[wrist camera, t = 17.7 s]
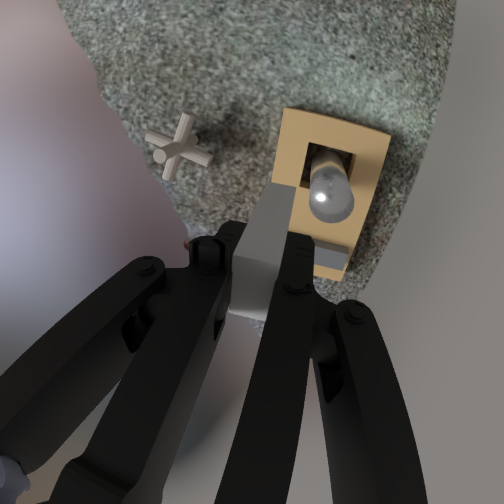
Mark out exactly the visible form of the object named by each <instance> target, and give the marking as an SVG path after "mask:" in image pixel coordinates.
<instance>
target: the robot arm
mask: <svg viewBox="0 0 504 504" xmlns="http://www.w3.org/2000/svg"><path fill="white" fill-rule="evenodd" d="M295 192H296V187H293V186H288V185H283V184H278V183H273V182H267V184H266V186H265V188H264V190H263V192H262V194H261V196H260V199H259V201H258V203H257V205H256V207H255V209H254V211H253V213H252V215H251V217H250V219H249V221H248V223H243V222H238V221H232V220H229V221H227V222H226V223H224V224H222V225H221V227H220V228H219V230H218V232H217V233H216V235H215V236H208V235H207V236H200V237H197V238H195V239H193V240H192V241H190V242H189V260H190V264H189V265H188V267H185V268H165V265H164V263H163V261H162V260H160V259H159V258H157V257H154V256H143V257H139V258H137V259H135V260H133V261H131V262H130V263H129V264H128V265H126V266H125V267H124V268H122V269H121V270H120V271H118V272H117V273H116V274H115V275H113V276H112V277H111V278H110V279H108V280H107V281H106V282H105V283H103V284H102V285H101V286H100V287H98V288H97V289H96V290H95V291H94V292H92V293H91V294H90V295H89V296H87V297H86V298H85V299H84V300H83V301H81V302H80V303H79V304H78V305H77V306H76V307H74V308H73V309H72V310H71V311H70V312H69V313H67V314H66V315H65V316H64V317H63V318H62V319H61V320H60V321H58V322H57V323H56V324H55V325H54V326H53V327H52V328H50V330H48V331H47V332H46V333H45V334H44V335H43V336H42V337H41V338H39V339H38V340H37V341H36V342H35V343H34V344H33V345H32V346H31V347H30V348H29V349H28V350H27V351H26V352H24V353H23V354H22V355H21V356H20V357H19V358H18V359H17V360H16V361H15V362H14V363H13V364H12V365H11V366H10V367H9V368H8V369H7V370H6V371H5V372H4V374H2V375H1V376H0V504H15V501H16V499H17V497H18V496H19V495H21V493H23V491H24V490H25V491H27V490H29V489H30V480H29V479H28V477H27V476H26V475H27V474H29V473H31V472H34V471H35V470H37V469H38V468H39V467H41V466H42V465H43V464H44V463H45V462H47V460H49V458H50V457H52V455H53V454H54V453H55V452H56V451H57V450H58V449H59V448H60V446H61V445H62V444H63V443H64V442H65V441H66V440H67V438H68V437H69V436H70V435H71V434H72V433H73V432H74V431H75V429H76V428H77V427H78V426H79V425H80V424H81V423H82V422H83V421H84V420H85V418H86V417H87V416H88V415H89V414H90V413H91V412H92V411H93V410H94V408H95V407H96V406H97V405H98V404H99V403H100V402H101V401H102V400H103V398H104V397H105V396H106V395H107V394H108V393H109V392H110V391H111V390H112V389H113V387H114V386H115V385H116V384H117V383H118V382H119V381H120V380H121V381H120V383H119V385H118V387H117V389H116V391H115V392H114V394H113V396H112V398H111V400H110V402H109V404H108V406H107V408H106V410H105V412H104V414H103V416H102V418H101V419H100V421H99V423H98V425H97V427H96V429H95V431H94V434H93V436H92V438H91V440H90V442H89V444H88V446H87V448H86V450H85V451H84V453H83V454H82V455H81V456H79V457H77V458H75V459H72V460H70V461H69V462H68V463H67V464H66V465H65V467H64V468H63V470H62V471H61V474H60V476H59V478H58V480H57V482H56V485H55V487H54V489H53V492H52V494H51V496H50V499H49V501H45V502H41V503H38V504H161V502H162V493H163V488H164V485H165V482H166V480H167V477H168V474H169V472H170V469H171V466H172V464H173V461H174V458H175V455H176V453H177V450H178V448H179V445H180V442H181V440H182V437H183V434H184V432H185V429H186V426H187V423H188V421H189V418H190V416H191V413H192V410H193V408H194V405H195V402H196V399H197V397H198V394H199V392H200V389H201V386H202V383H203V381H204V378H205V376H206V373H207V370H208V367H209V364H210V362H211V360H212V357H213V354H214V351H215V349H216V346H217V343H218V341H219V338H220V335H221V333H222V330H223V327H224V325H225V316H226V312H227V309H228V307H229V313H232V314H237V315H241V316H245V317H249V318H253V319H258V320H262V321H265V325H264V329H263V333H262V337H261V341H260V345H259V349H258V353H257V357H256V360H255V364H254V368H253V372H252V376H251V379H250V383H249V387H248V390H247V394H246V398H245V401H244V405H243V408H242V412H241V416H240V419H239V423H238V426H237V430H236V434H235V437H234V440H233V443H232V447H231V450H230V454H229V457H228V460H227V464H226V467H225V470H224V473H223V477H222V480H221V483H220V486H219V489H218V492H217V496H216V499H215V502H214V504H286V500H287V495H288V491H289V486H290V482H291V477H292V472H293V467H294V462H295V457H296V451H297V446H298V440H299V434H300V428H301V422H302V415H303V408H304V401H305V394H306V386H307V377H308V370H309V361H310V358H312V359H313V366H314V372H315V377H316V384H317V390H318V396H319V402H320V408H321V415H322V421H323V428H324V435H325V441H326V449H327V457H328V464H329V473H330V481H331V489H332V498H333V504H428V501H427V495H426V490H425V484H424V478H423V473H422V468H421V464H420V459H419V455H418V451H417V446H416V442H415V438H414V434H413V430H412V427H411V423H410V419H409V416H408V412H407V409H406V406H405V402H404V399H403V395H402V392H401V389H400V386H399V383H398V380H397V377H396V374H395V372H394V368H393V365H392V362H391V359H390V356H389V354H388V351H387V348H386V345H385V343H384V340H383V337H382V335H381V332H380V330H379V327H378V324H377V322H376V319H375V317H374V315H373V313H372V311H371V310H370V308H368V307H367V306H366V305H365V304H363V303H361V302H359V301H357V300H351V299H349V300H343V301H341V302H340V303H338V305H336V304H334V303H332V302H330V301H328V300H326V299H324V298H323V297H321V296H320V295H319V294H318V293H317V291H316V290H315V286H314V285H313V273H314V256H315V242H314V241H313V239H312V237H311V236H310V235H305V234H300V233H296V232H291V231H288V228H289V223H290V218H291V213H292V208H293V203H294V198H295Z"/></svg>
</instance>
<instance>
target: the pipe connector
mask: <svg viewBox="0 0 504 504" xmlns="http://www.w3.org/2000/svg"><path fill="white" fill-rule="evenodd" d="M195 118H196V115H195V114H194V113H191V112H186V111H184V112H183V114H182V116H181V119H180V122H179V125H178V128H177V131H176V134H175V137H174V138H173V137H170V136H168V135H165V134H163V133H161V132H158V131H156V130H153V129H149V130H148V131H147V133H146V135H145V140H146V141H149V142H151V143H153V144H156V145H158V146H161V148H159V149H157V150H155V152H154V154H153V157H154V160H155V161H156V162H157V163H163V162H165V161H167V162H166V166H165V169H164V173H163V176H162V178H163V179H164V180H166V181H174V179H175V175H176V172H177V169H178V166H179V163H180V160H181V157H182V156H183V157H186V158H188V159H190V160H192V161H195V162H197V163H199V164H201V165H203V166H205V167H208V166H209V165H210V163H211V162H212V159H213V155H212V154H210V153H207V152H205V151H203V150H201V149H198V148H196V147H194V145H196V144H197V143H198V137H197V136H196V135H195V134H191V135H189V134H190V131H191V128H192V126H193V123H194V120H195Z"/></svg>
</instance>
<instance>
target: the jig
mask: <svg viewBox="0 0 504 504" xmlns="http://www.w3.org/2000/svg"><path fill="white" fill-rule="evenodd" d="M390 139H391V136H390V135H388V134H387V133H385V132H382V131H379V130H376V129H373V128H370V127H367V126H363V125H360V124H357V123H353V122H350V121H346V120H343V119H339V118H335V117H331V116H328V115H323V114H319V113H315V112H311V111H306V110H301V109H297V108H292V107H285V108H284V113H283V118H282V124H281V130H280V136H279V141H278V147H277V153H276V158H275V164H274V169H273V175H272V181H271V182H273V183H278V184H283V185H288V186H293V187H296V192H295V198H294V203H293V208H292V213H291V218H290V223H289V228H288V231H291V232H296V233H300V234H305V235H310V236H311V237H312V239H313V241H314V242H315V256H314V273H313V275H314V276H319V277H323V278H327V279H331V280H336V281H340V282H341V279H342V277H343V275H344V272H345V270H346V268H347V265H348V263H349V260H350V258H351V255H352V253H353V250H354V248H355V245H356V243H357V240H358V237H359V235H360V232H361V229H362V227H363V224H364V221H365V218H366V216H367V213H368V210H369V207H370V204H371V201H372V198H373V195H374V192H375V189H376V186H377V183H378V180H379V177H380V173H381V170H382V167H383V163H384V160H385V157H386V153H387V150H388V146H389V142H390ZM309 142H312V143H316V144H320V145H324V146H328V147H332V148H336V149H339V150H343V151H346V152H350V153H353V155H352V159H351V163H350V166H349V170H348V174H347V178H348V181H349V184H350V187H351V190H352V193H353V196H354V209H353V211H352V213H351V214H350V216H349V217H348V218H346V219H345V220H343V221H341V222H338V223H325V222H322V221H320V220H319V219H317V218H316V217H315V216H314V215H313V214H312V212H311V210H310V207H309V191H310V182H306V181H302V180H301V176H302V171H303V167H304V162H305V157H306V153H307V148H308V143H309Z"/></svg>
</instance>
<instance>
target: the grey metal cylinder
mask: <svg viewBox="0 0 504 504" xmlns="http://www.w3.org/2000/svg"><path fill="white" fill-rule="evenodd" d="M309 207H310V210H311V212H312V214H313V215H314V216H315V217H316V218H317V219H319V220H320V221H322V222H325V223H338V222H341V221H343V220H345V219H346V218H348V217H349V216H350V214H351V213H352V211H353V209H354V196H353V193H352V190H351V187H350V184H349V181H348V178H347V175H346V172H345V169H344V167H343V164H342V161H341V159H340V157H339V156H338V154H336V153H335V152H333V151H331V150H322V151H319V152H318V153H316V154H315V155H314V157H313V159H312V162H311V177H310V191H309Z"/></svg>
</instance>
